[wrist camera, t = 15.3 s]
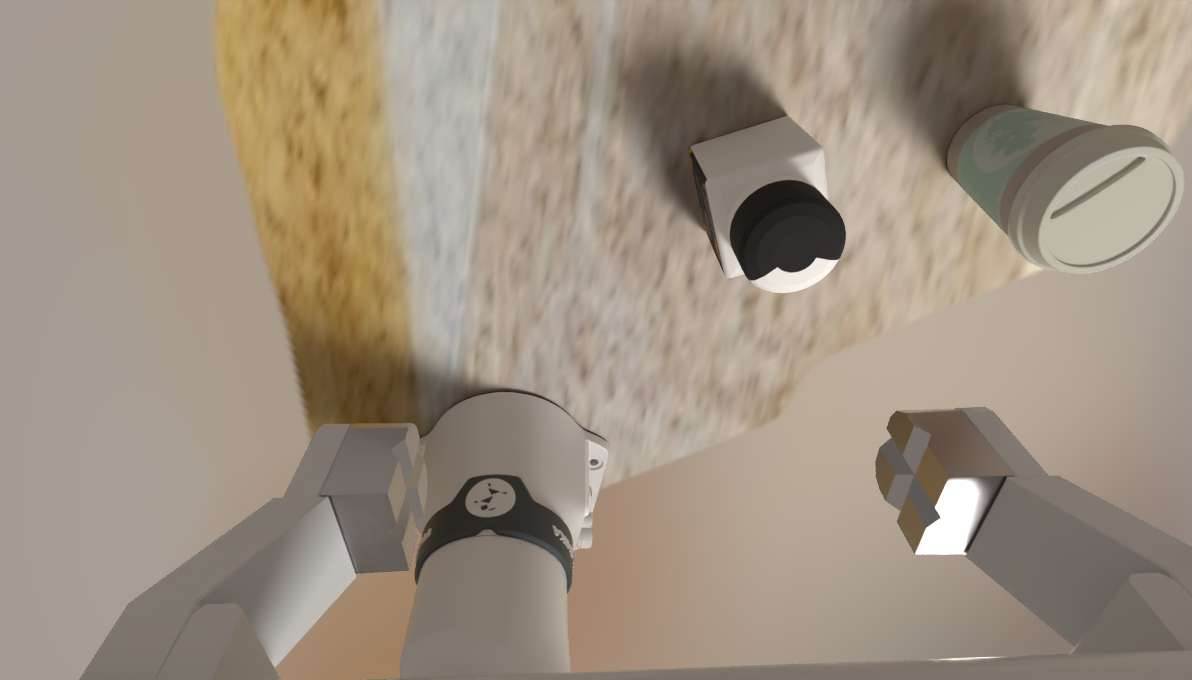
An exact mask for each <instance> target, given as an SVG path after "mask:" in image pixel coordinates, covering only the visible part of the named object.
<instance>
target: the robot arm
mask: <svg viewBox="0 0 1192 680" xmlns="http://www.w3.org/2000/svg"><path fill="white" fill-rule="evenodd" d="M887 430H888V432H889V433H890V435H891V437H892V438H891V439H889V440H888V441H887V442H886V443H884V444H883V445H882V446H881V447H880V448H879V452H878V455H877V458H876V478H877V482H878V485H879V489H880V491H881V493H882V494H883V497H884V499H885V500H886V501H887V502H888V503H890V504H891V505H892V506H894V507H895V508H897V509H898V510H900V513H899V517H898V520H897V523H898V525H899V526H900V528H901V530H902V532H903V534H904V535H905V537H906V539H907V541H908V543H909V545H910V547H911V548H912V550H913V552H914V554H966V557H967V558H968V559H969V560H970V561H971V562H973V563H974V564H975V565H976V566H978V567H979V568H980V569H981V570H982V571H984V572H985V573H986V574H987V575H988V576H989V577H991V578H992V579H993V580H994V581H996V582H997V583H998V584H999V585H1000V586H1002V587H1003V588H1004V589H1005V590H1006V591H1008V592H1009V593H1010V594H1011V595H1012V596H1014V597H1015V598H1016V599H1017V600H1018V601H1020V602H1021V603H1022V604H1023V605H1024V606H1026V607H1027V608H1028V609H1029V610H1030V611H1032V612H1033V613H1034V614H1035V615H1037V616H1038V617H1039V618H1040V619H1041V620H1043V621H1044V622H1045V623H1046V624H1047V625H1049V626H1050V627H1051V628H1052V629H1053V630H1055V631H1056V632H1057V633H1058V634H1060V635H1061V636H1062V637H1063V638H1064V639H1066V640H1067V641H1068V642H1069V643H1070V644H1072V645H1073V646H1074V648H1073V649H1072V650H1071V652H1070V653H1069V654H1060V655H1059V654H1057V655H1030V656H1004V657H977V658H948V659H922V660H895V661H866V662H838V663H812V664H785V665H760V666H732V667H705V668H679V669H652V670H651V669H650V670H621V671H596V672H595V671H594V672H571V670H570V658H569V645H568V627H567V594H568V592H569V590H570V587H571V583H572V576H573V571H574V554H573V552H574V550H577V549H578V548H586V549H588V548H590V547H591V544H592V536H593V527H592V513H593V509H594V506H595V502H596V498H597V495H598V492H599V488H600V484H601V481H602V477H603V474H604V470H605V467H606V463H607V460H608V456H609V445H608V443H607V442H606V441H605V440H603V439H602V438H600V437H598V436H596V435H594V434H592V433H589V432H587V431H585V430H583V429H582V428H581V427H580V426H579V425H578V424H577V423H576V422H575V421H574V420H573V419H572V418H571V417H570V416H569V415H568V414H567V413H566V412H565V411H563V410H562V409H560V408H559V407H557V406H556V405H554V404H552V403H550V402H548V401H546V400H544V399H541V398H538V397H535V396H531V395H527V394H521V393H513V392H496V393H488V394H483V395H478V396H475V397H472V398H469V399H467V400H464V401H462V402H460V403H458V404H457V405H455V406H453V407H452V408H451V409H449V410H448V411H447V412H446V413H445V414H444V415H443V416H442V417H441V418H440V419H439V421H438V422H437V424H436V425H435V427H434V428H433V430H432V431H431V432H430V433H429V434H428V435H426V436H424V437H423V438H421V439H420V437H419V434H418V430H417V426H416V425H414V424H413V423H354V424H323V425H322V426H321V427H319V428H318V429H317V430H316V432H315V434H314V436H313V438H312V440H311V442H310V444H309V446H308V449H307V451H306V453H305V455H304V457H303V459H302V461H301V463H300V465H299V467H298V469H297V471H296V473H295V475H294V477H293V479H292V481H291V483H290V485H289V487H288V489H287V491H286V493H285V495H284V497H283V498H273V499H272V500H271V501H269V502H268V503H266V504H265V505H264V506H262V507H261V508H260V509H258V510H257V511H256V512H254V513H253V514H251V515H250V516H248V517H247V518H246V519H244V520H243V521H242V522H240V523H239V524H238V525H236V526H235V527H233V528H232V529H231V530H229V531H228V532H227V533H225V534H224V535H222V536H221V537H220V538H218V539H217V540H215V541H214V542H213V543H211V544H210V545H209V546H207V547H206V548H204V549H203V550H202V551H200V552H199V553H198V554H196V555H195V556H193V557H192V558H191V559H189V560H188V561H186V562H185V563H184V564H182V565H181V566H180V567H178V568H177V569H175V570H174V571H173V572H171V573H170V574H169V575H167V576H166V577H164V578H163V579H162V580H160V581H159V582H158V583H156V584H155V585H154V586H152V587H151V588H149V589H148V590H147V591H145V592H144V593H143V594H141V595H140V596H138V597H137V598H135V599H134V600H133V601H131V602H130V603H129V604H128V605H127V606H126V608H125V610H124V611H123V613H122V614H121V616H120V617H119V619H118V620H117V622H116V623H115V625H114V627H113V628H112V630H111V631H110V633H109V634H108V636H107V637H106V639H105V641H104V642H103V644H102V645H101V647H100V648H99V650H98V651H97V653H96V654H95V656H94V658H93V659H92V661H91V662H90V664H89V665H88V667H87V668H86V670H85V671H84V673H83V675H82V676H81V678H80V679H79V680H281V679H280V677H279V675H278V674H277V672H276V670H275V667H276V666H277V665H278V664H279V662H280V661H281V660H282V659H283V658H284V657H285V656H286V655H287V653H288V652H289V651H290V650H291V649H292V648H293V647H294V646H295V645H296V644H297V642H298V641H299V640H300V639H301V638H302V637H303V636H304V634H306V632H307V631H308V630H309V629H310V628H311V627H312V626H313V624H314V623H315V622H316V621H317V620H318V619H319V618H320V617H321V616H322V615H323V613H324V612H325V611H326V610H327V609H328V608H329V607H330V606H331V605H332V603H333V602H334V601H335V600H336V599H337V598H338V597H339V595H341V593H342V592H343V591H344V590H345V589H346V588H347V587H348V586H349V584H350V583H351V582H352V581H353V580H354V579H355V578H356V574H357V573H374V572H391V571H406V570H407V571H408V570H410V566H411V562H412V557H413V553H414V549H415V546H416V542H417V538H418V535H417V531H416V527H417V529H418V530H419V532H420V533H421V534H422V538H421V541H420V543H419V546H418V550H417V554H416V568H415V582H416V585H417V588H416V593H415V597H414V601H413V606H412V610H411V615H410V619H409V624H408V628H407V633H406V637H405V641H404V646H403V651H402V654H401V659H400V678H399V679H370V680H1192V547H1191V546H1189V545H1187V544H1185V543H1183V542H1181V541H1179V540H1178V539H1176V538H1174V537H1172V536H1170V535H1168V534H1166V533H1164V532H1163V531H1161V530H1159V529H1157V528H1155V527H1153V526H1151V525H1149V524H1147V523H1146V522H1144V521H1142V520H1140V519H1138V518H1136V517H1135V516H1133V515H1131V514H1129V513H1127V512H1125V511H1123V510H1122V509H1120V508H1118V507H1116V506H1114V505H1112V504H1110V503H1108V502H1106V501H1105V500H1102V499H1101V498H1099V497H1097V496H1095V495H1093V494H1091V493H1090V492H1088V491H1086V490H1084V489H1082V488H1080V487H1078V486H1076V485H1075V484H1073V483H1071V482H1069V481H1067V480H1065V479H1063V478H1061V477H1060V476H1049V475H1048V474H1047V473H1046V472H1045V471H1044V470H1043V468H1042V467H1041V466H1040V465H1039V464H1038V463H1037V461H1036V460H1035V459H1034V458H1033V457H1032V456H1031V455H1030V453H1029V452H1028V451H1027V450H1026V449H1025V448H1024V446H1023V445H1022V444H1021V443H1020V442H1019V441H1018V439H1017V438H1016V437H1015V436H1014V435H1013V434H1012V432H1011V431H1010V430H1009V429H1008V428H1007V427H1006V425H1005V424H1004V423H1003V422H1002V421H1001V420H1000V418H999V417H998V416H997V415H996V414H995V413H994V412H993V411H992V410H990V409H988V408H986V407H975V408H955V409H933V410H903V411H896V412H895V413H894V414H893V415H892V416H891V417H890V420H889V423H888V426H887ZM592 459H596V460H592ZM415 524H416V526H415Z"/></svg>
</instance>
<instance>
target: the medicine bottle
mask: <svg viewBox="0 0 1192 680" xmlns="http://www.w3.org/2000/svg"><path fill="white" fill-rule="evenodd" d="M689 157H690V161H691V166H692V170H693V175H694V179H695V184H696V188H697V193H698V197H699V202H700V206H701V211H702V215H703V220H704V224H705V229H706V233H707V236H708V238H709V240H710V243H711V245H712V247H713V250H714V252H715V254H716V256H717V259H718V261H719V263H720V266H721V268H722V270H723V273H724V275H725V276H726V277H728V278H732V277H736V276H739V275H743V274H745V276H746V277H747V278H748V279H749V280H750V281H751V282H752V283H753V284H754V285H756V286H757V287H759V288H761V289H764V290H766V291H770V292H776V293H788V292H795V291H799V290H802V289H805V288H807V287H809V286H811V285H813V284H815V283H817V282H818V281H820V280H821V279H822V278H824V277H825V276H826V275H827V274H828V273H829V272H830V271H831V270H832V269H833V267H834V266H835V265H836V263H837V262H838V260H839V259H840V256H841V254H842V252H843V249H844V246H845V239H846V231H845V225H844V222H843V219H842V218H841V216H840V214H839V213H838V211H837V210H836V209H835V208H834V207H833V206H832V205H831V203H830V202H829V201H828V191H827V180H826V170H825V160H824V150H823V147H822V146H821V145H820V144H819V143H817V142H816V141H815V140H814V139H813V138H812V137H811V136H810V135H809V134H808V133H807V132H805V131H804V130H803V129H802V128H801V127H800V126H799V125H798V124H797V123H796V122H795V121H793V120H792V119H791V118H790V117H788V116H786V117H782V118H778V119H775V120H772V121H769V122H765V123H762V124H759V125H756V126H753V127H749V128H746V129H743V130H740V131H736V132H733V133H730V134H727V135H724V136H720V137H717V138H714V139H711V140H707V141H704V142H701V143H698V144H695V145H692V146H690V148H689Z"/></svg>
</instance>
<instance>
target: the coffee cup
mask: <svg viewBox="0 0 1192 680" xmlns="http://www.w3.org/2000/svg"><path fill="white" fill-rule="evenodd" d="M947 166H948V170H949V173H950V174H951V176H952V177H953V178H954V180H955V181H956V182H957V183H958V184H959V185H960V186H961V187H962V188H963V189H964V190H965V191H966V192H967V193H968V195H969V196H970V197H971V198H972V199H973V200H974V201H975V202H976V203H977V204H978V205H979V206H980V207H981V208H982V209H983V210H984V211H985V212H986V213H987V214H988V215H989V216H990V218H991V219H992V220H993V221H994V222H995V223H996V224H997V225H998V226H999V227H1000V228H1001V229H1002V230H1003V231H1004V232H1005V233H1006V234H1007V235H1008V236H1009V239H1010V242H1011V244H1012V246H1013V248H1014V250H1015V251H1016V252H1017V253H1018V255H1019V256H1020V257H1022V258H1023V259H1024V260H1026V261H1028V262H1030V263H1032V264H1035V265H1037V266H1039V267H1042V268H1044V269H1048V270H1056V271H1063V272H1066V273H1073V274H1084V273H1092V272H1096V271H1101V270H1104V269H1107V268H1110V267H1113V266H1115V265H1117V264H1120V263H1121V262H1124V261H1126V260H1127V259H1129V258H1131V257H1132V256H1134V255H1135V254H1137V253H1138V252H1140V251H1141V250H1142V249H1144V248H1145V247H1146V246H1147V245H1149V244H1150V243H1151V242H1152V241H1153V240H1154V239H1155V238H1156V237H1157V236H1158V235H1159V234H1160V233H1161V232H1162V231H1163V230H1164V229H1165V227H1166V226H1167V225H1168V223H1169V222H1170V221H1171V219H1172V217H1173V216H1174V214H1175V212H1176V210H1177V208H1178V206H1179V204H1180V201H1181V199H1182V195H1183V190H1184V174H1183V169H1182V167H1181V165H1180V163H1179V162H1178V160H1177V159H1176V158H1175V157H1174V156H1173V154H1172V152H1171V150H1170V149H1169V147H1168V146H1167V145H1166V143H1165V142H1163V141H1162V140H1161V139H1160V138H1158V137H1157V136H1155V135H1154V134H1153V133H1151V132H1150V131H1148V130H1146V129H1144V128H1141V127H1137V126H1132V125H1112V126H1106V125H1102V124H1097V123H1092V122H1088V121H1083V120H1078V119H1074V118H1069V117H1065V116H1060V115H1055V114H1051V113H1046V112H1042V111H1037V110H1032V109H1027V108H1022V107H1018V106H1013V105H996V106H992V107H989V108H986V109H984V110H982V111H980V112H978V113H977V114H975V115H974V116H972V117H971V118H970V119H969V120H967V121H966V122H965V123H964V124H963V125H962V126H961V128H960V129H959V130H958V131H957V133H956V134H955V136H954V137H953V139H952V141H951V144H950V146H949V149H948V154H947Z"/></svg>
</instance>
